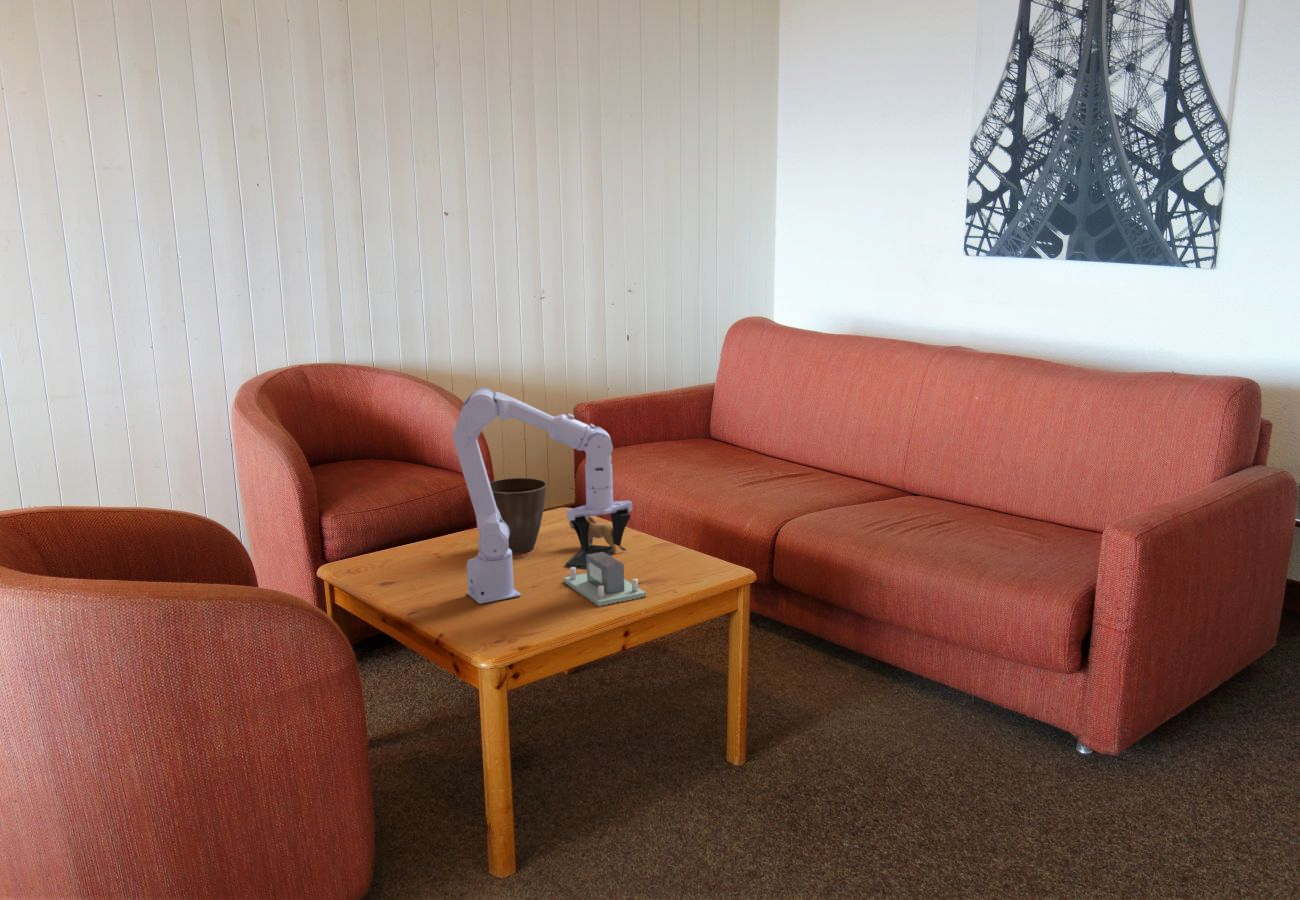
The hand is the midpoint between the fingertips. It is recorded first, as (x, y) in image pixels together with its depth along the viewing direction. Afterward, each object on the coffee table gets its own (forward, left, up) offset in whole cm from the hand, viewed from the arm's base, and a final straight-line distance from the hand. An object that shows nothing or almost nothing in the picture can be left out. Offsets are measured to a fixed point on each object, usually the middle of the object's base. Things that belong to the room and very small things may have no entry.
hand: (601, 547), depth 237 cm
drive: (0, -1, -8) cm, 8 cm away
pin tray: (0, 0, -9) cm, 9 cm away
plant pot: (-5, +37, -10) cm, 38 cm away
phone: (+7, +21, -10) cm, 24 cm away
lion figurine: (+11, +26, -10) cm, 30 cm away
